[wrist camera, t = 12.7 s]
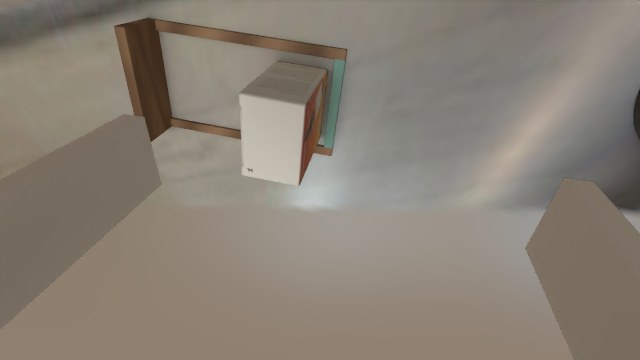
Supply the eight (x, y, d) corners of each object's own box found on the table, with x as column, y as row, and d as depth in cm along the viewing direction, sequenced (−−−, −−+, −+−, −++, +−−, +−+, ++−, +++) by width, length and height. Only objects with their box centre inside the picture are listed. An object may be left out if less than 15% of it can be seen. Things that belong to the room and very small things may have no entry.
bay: (346, 49, 32) (340, 62, 28) (331, 154, 39) (324, 177, 35) (147, 18, 34) (113, 26, 30) (165, 123, 41) (140, 142, 37)
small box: (320, 137, 38) (299, 189, 30) (273, 129, 39) (240, 177, 30) (329, 67, 34) (307, 105, 25) (276, 59, 34) (236, 92, 26)
